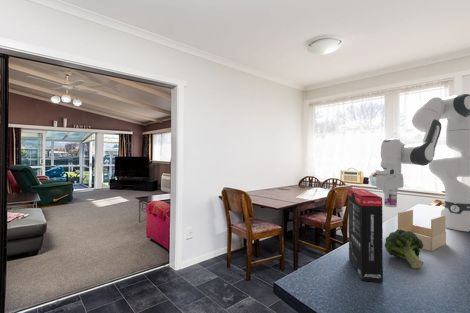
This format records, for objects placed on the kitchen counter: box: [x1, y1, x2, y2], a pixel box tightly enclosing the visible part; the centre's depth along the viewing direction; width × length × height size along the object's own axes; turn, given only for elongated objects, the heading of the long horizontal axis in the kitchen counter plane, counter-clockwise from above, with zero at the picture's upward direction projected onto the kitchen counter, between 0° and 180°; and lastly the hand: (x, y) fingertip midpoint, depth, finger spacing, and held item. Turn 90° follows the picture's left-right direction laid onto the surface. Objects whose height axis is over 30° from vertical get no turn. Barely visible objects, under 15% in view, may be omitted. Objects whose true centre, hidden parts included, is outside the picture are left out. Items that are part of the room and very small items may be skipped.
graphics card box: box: [347, 188, 384, 283], centre depth 84 cm, size 17×7×27 cm, turn 168°
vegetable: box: [384, 228, 424, 270], centre depth 91 cm, size 12×13×15 cm
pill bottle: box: [383, 188, 398, 208], centre depth 123 cm, size 5×5×10 cm
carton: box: [396, 209, 447, 252], centre depth 110 cm, size 15×13×13 cm
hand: (390, 197), depth 123 cm, fingers closed on pill bottle, 5 cm apart
